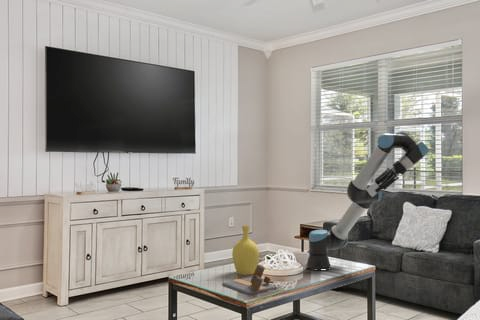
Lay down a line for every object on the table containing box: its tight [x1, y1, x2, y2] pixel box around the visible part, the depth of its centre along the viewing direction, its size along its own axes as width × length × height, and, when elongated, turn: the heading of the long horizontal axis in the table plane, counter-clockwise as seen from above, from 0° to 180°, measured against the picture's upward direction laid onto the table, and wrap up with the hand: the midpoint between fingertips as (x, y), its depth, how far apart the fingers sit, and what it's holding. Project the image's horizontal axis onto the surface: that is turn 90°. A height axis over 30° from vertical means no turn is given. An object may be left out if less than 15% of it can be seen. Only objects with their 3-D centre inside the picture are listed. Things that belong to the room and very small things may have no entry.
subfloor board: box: [221, 277, 278, 296], centre depth 241 cm, size 18×24×2 cm
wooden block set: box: [250, 264, 271, 291], centre depth 236 cm, size 18×9×10 cm, turn 162°
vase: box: [231, 225, 260, 276], centre depth 273 cm, size 16×16×28 cm
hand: (369, 193), depth 247 cm, fingers open, 5 cm apart
